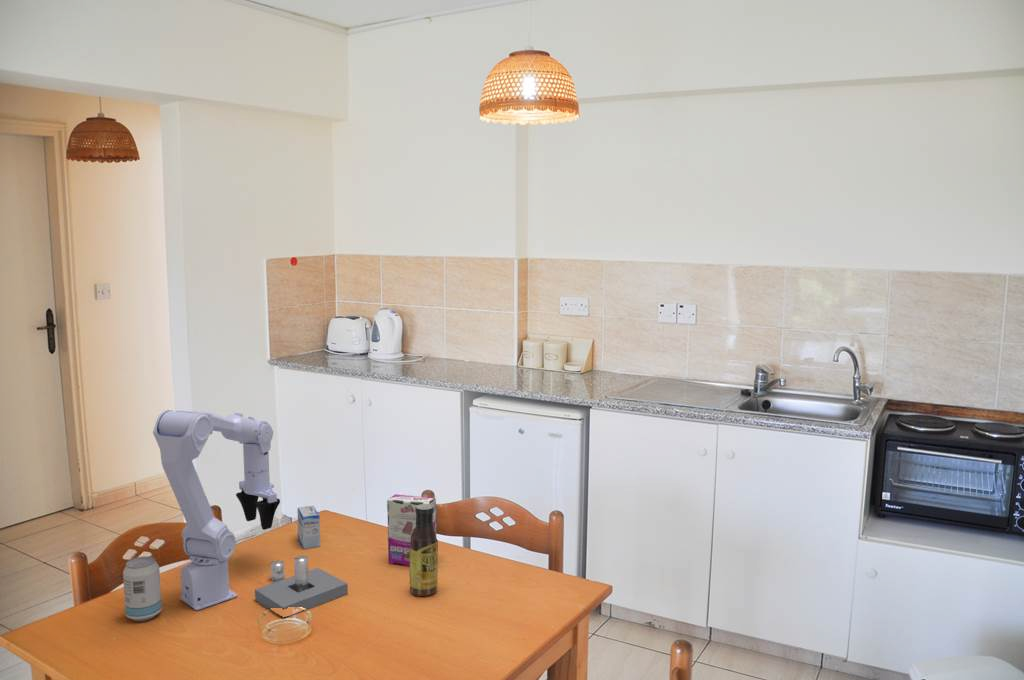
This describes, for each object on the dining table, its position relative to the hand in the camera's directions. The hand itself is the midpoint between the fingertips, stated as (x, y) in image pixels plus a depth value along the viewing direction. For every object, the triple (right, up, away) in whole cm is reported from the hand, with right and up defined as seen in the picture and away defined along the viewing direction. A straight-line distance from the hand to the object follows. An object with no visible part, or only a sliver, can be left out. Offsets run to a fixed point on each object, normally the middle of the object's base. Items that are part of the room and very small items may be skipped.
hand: (258, 524), depth 193 cm
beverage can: (-17, -14, -24) cm, 32 cm away
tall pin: (+14, -13, -15) cm, 24 cm away
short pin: (+6, -11, -6) cm, 15 cm away
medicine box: (+8, -9, +16) cm, 20 cm away
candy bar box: (+37, -10, +3) cm, 38 cm away
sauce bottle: (+41, -13, -12) cm, 45 cm away
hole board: (+14, -13, -15) cm, 24 cm away
